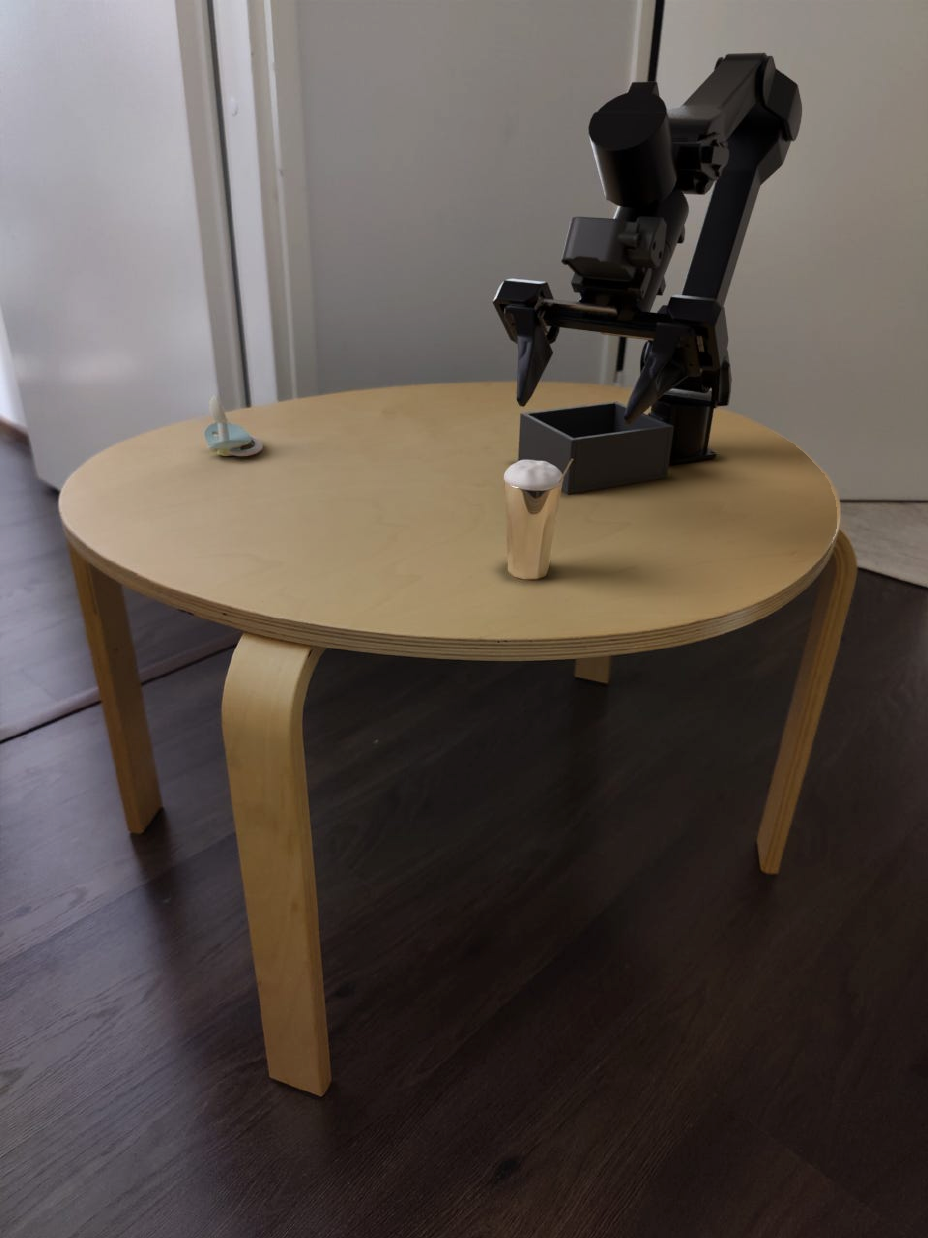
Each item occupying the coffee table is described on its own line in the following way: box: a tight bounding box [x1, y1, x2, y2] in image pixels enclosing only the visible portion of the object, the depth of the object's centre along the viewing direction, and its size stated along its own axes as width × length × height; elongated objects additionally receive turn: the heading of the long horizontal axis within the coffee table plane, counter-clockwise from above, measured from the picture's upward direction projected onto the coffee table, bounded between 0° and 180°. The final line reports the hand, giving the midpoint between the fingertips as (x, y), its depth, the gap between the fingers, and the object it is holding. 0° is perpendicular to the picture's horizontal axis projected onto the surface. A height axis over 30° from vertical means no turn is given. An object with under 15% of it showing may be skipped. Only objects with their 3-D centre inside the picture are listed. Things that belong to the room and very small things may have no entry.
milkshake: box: [503, 459, 573, 580], centre depth 67 cm, size 4×5×10 cm
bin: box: [517, 401, 674, 495], centre depth 90 cm, size 12×10×6 cm
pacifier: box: [203, 394, 263, 457], centre depth 94 cm, size 7×6×6 cm
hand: (571, 412), depth 68 cm, fingers open, 9 cm apart
